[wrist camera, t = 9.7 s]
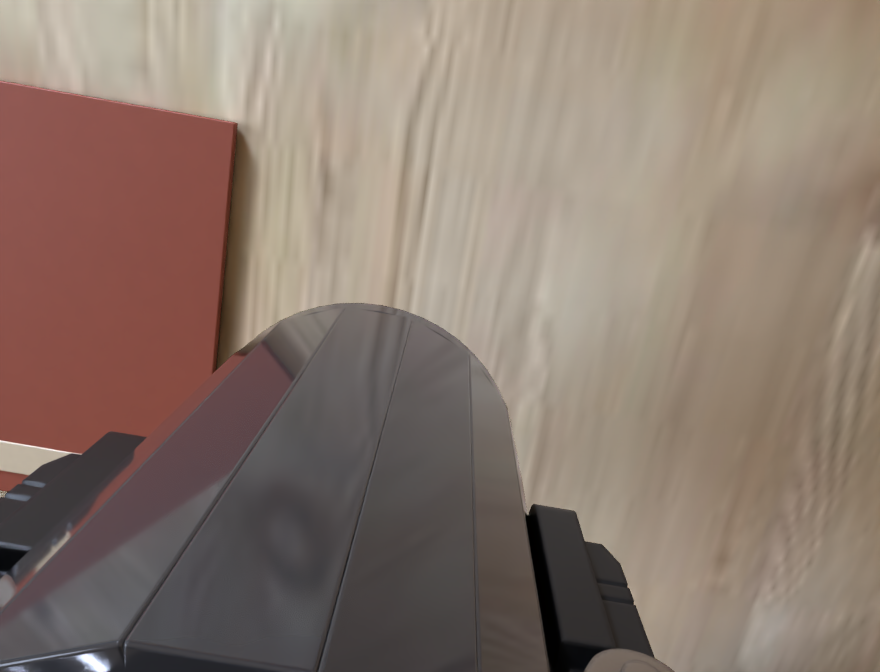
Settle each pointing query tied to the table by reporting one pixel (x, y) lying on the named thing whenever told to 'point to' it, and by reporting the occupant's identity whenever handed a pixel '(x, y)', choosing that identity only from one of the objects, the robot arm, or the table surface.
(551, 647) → the robot arm
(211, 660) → the black cup
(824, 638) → the table surface
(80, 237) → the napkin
